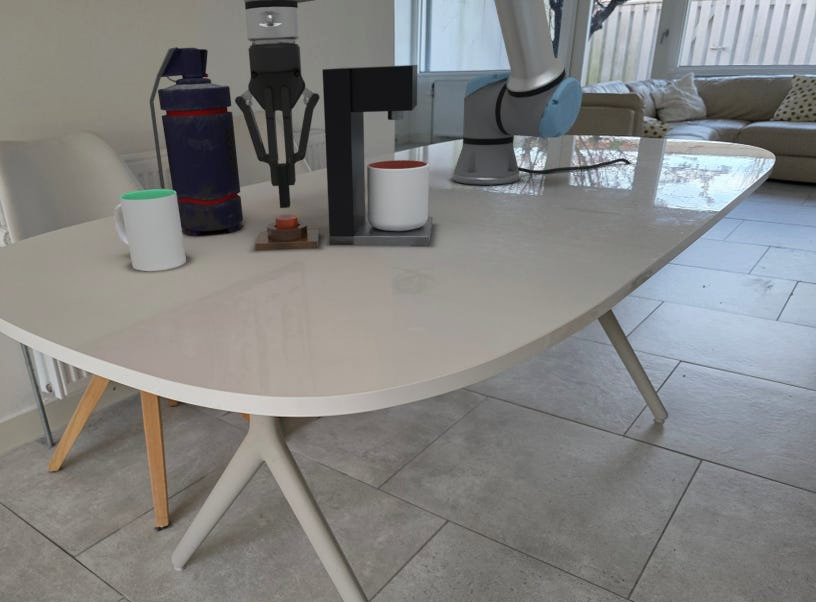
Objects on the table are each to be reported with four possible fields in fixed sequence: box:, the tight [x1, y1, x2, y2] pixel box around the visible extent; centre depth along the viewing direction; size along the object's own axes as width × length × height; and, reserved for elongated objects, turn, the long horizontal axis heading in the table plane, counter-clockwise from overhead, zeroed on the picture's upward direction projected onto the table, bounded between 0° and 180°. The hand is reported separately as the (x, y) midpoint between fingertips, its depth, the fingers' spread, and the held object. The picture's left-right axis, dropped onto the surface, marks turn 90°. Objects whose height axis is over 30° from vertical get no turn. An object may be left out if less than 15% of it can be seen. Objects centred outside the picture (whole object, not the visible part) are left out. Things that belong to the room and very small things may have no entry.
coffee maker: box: [322, 64, 433, 247], centre depth 100 cm, size 16×14×26 cm
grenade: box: [149, 46, 244, 237], centre depth 108 cm, size 14×12×30 cm
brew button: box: [275, 214, 299, 229], centre depth 102 cm, size 4×4×2 cm
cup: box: [366, 159, 430, 231], centre depth 103 cm, size 10×10×10 cm
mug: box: [113, 188, 187, 272], centre depth 94 cm, size 12×8×10 cm, turn 61°
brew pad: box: [254, 220, 320, 252], centre depth 102 cm, size 10×8×3 cm
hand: (285, 206), depth 100 cm, fingers closed
